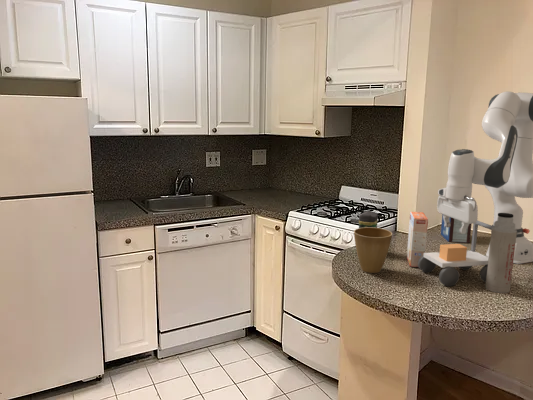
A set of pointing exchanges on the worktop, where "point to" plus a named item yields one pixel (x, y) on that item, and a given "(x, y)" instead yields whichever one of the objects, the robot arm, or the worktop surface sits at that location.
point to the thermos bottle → (501, 254)
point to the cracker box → (416, 237)
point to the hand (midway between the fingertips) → (454, 229)
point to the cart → (450, 274)
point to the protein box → (455, 231)
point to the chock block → (453, 252)
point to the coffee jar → (368, 219)
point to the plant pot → (372, 247)
